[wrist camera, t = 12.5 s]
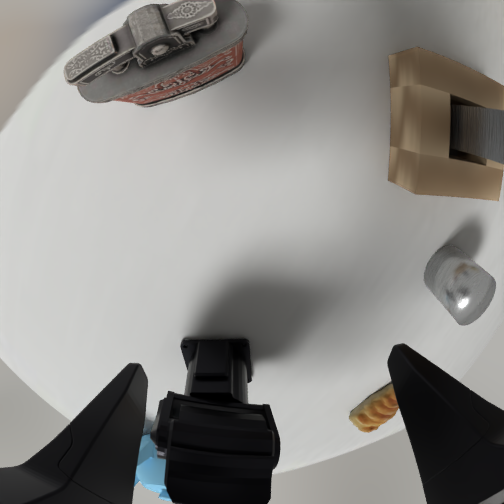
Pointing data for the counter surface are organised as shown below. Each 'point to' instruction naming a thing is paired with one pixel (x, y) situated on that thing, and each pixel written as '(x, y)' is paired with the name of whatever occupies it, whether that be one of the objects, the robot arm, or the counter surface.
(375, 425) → the pastry
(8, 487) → the robot arm
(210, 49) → the lighter
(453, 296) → the cylinder
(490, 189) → the socket block
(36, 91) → the counter surface
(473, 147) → the square bit
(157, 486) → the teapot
